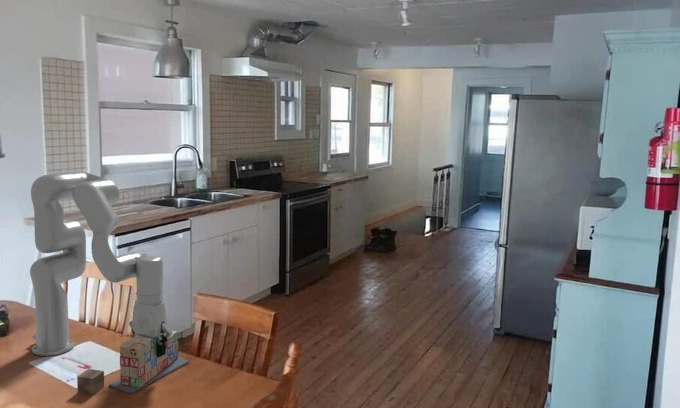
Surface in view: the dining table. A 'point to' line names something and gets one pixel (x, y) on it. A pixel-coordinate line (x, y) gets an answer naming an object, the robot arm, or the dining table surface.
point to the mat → (173, 366)
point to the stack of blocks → (144, 359)
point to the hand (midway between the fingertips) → (150, 352)
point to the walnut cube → (90, 381)
